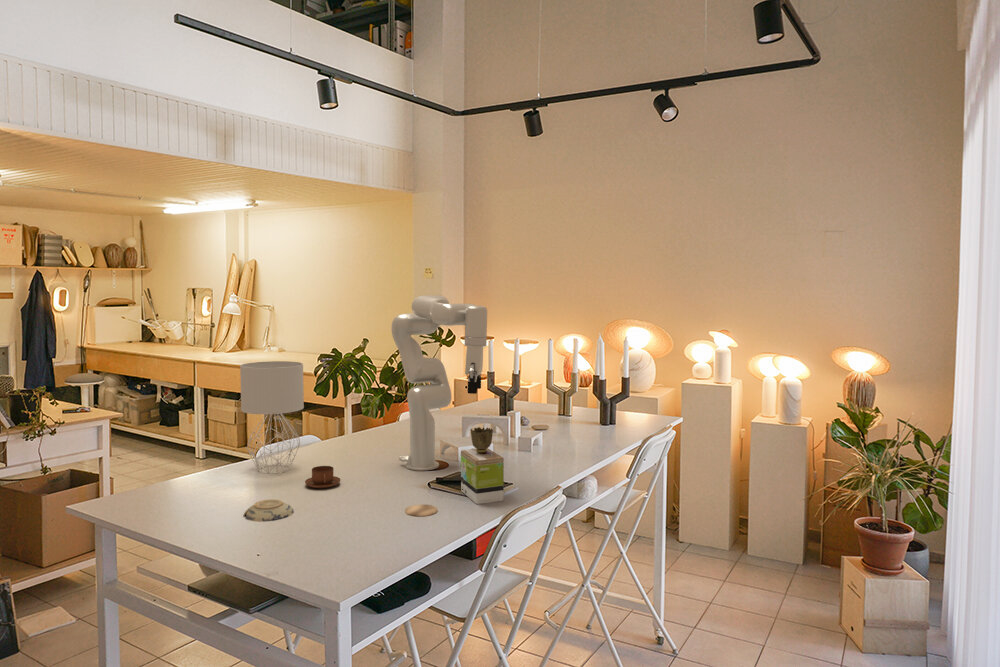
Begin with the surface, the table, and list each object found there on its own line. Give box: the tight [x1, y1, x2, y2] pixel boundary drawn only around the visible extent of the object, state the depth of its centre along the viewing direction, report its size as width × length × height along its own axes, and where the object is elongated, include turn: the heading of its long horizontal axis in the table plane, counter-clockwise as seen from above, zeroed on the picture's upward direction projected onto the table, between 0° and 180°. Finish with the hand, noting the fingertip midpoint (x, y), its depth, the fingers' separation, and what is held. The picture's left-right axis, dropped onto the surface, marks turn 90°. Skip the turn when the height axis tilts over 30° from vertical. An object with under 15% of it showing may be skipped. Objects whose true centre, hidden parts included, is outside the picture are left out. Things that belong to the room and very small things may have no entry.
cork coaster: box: [404, 503, 438, 517], centre depth 219 cm, size 10×10×1 cm
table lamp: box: [239, 360, 305, 475], centre depth 265 cm, size 22×22×40 cm
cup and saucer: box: [304, 465, 341, 489], centre depth 246 cm, size 12×12×6 cm
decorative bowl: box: [242, 499, 295, 523], centre depth 215 cm, size 15×4×15 cm
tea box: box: [460, 447, 505, 505], centre depth 233 cm, size 15×10×15 cm, turn 23°
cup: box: [470, 426, 494, 454], centre depth 232 cm, size 8×7×8 cm
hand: (474, 390), depth 243 cm, fingers open, 9 cm apart
